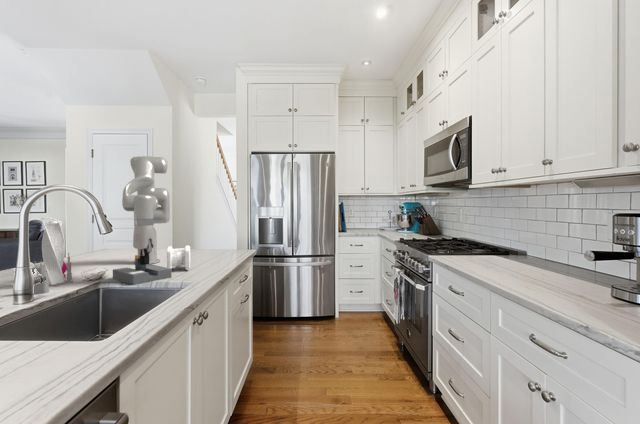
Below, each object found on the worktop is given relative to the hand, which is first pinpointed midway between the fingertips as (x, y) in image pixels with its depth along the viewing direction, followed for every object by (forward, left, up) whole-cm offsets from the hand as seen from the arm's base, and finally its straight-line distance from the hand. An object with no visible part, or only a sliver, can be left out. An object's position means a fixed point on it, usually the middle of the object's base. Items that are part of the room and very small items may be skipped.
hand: (144, 264), depth 141 cm
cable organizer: (-6, +20, -7) cm, 22 cm away
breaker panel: (-2, 0, -6) cm, 7 cm away
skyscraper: (-21, -26, -7) cm, 34 cm away
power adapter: (-9, -34, -7) cm, 36 cm away
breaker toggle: (-4, 0, -4) cm, 6 cm away
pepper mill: (-31, -23, -7) cm, 40 cm away
